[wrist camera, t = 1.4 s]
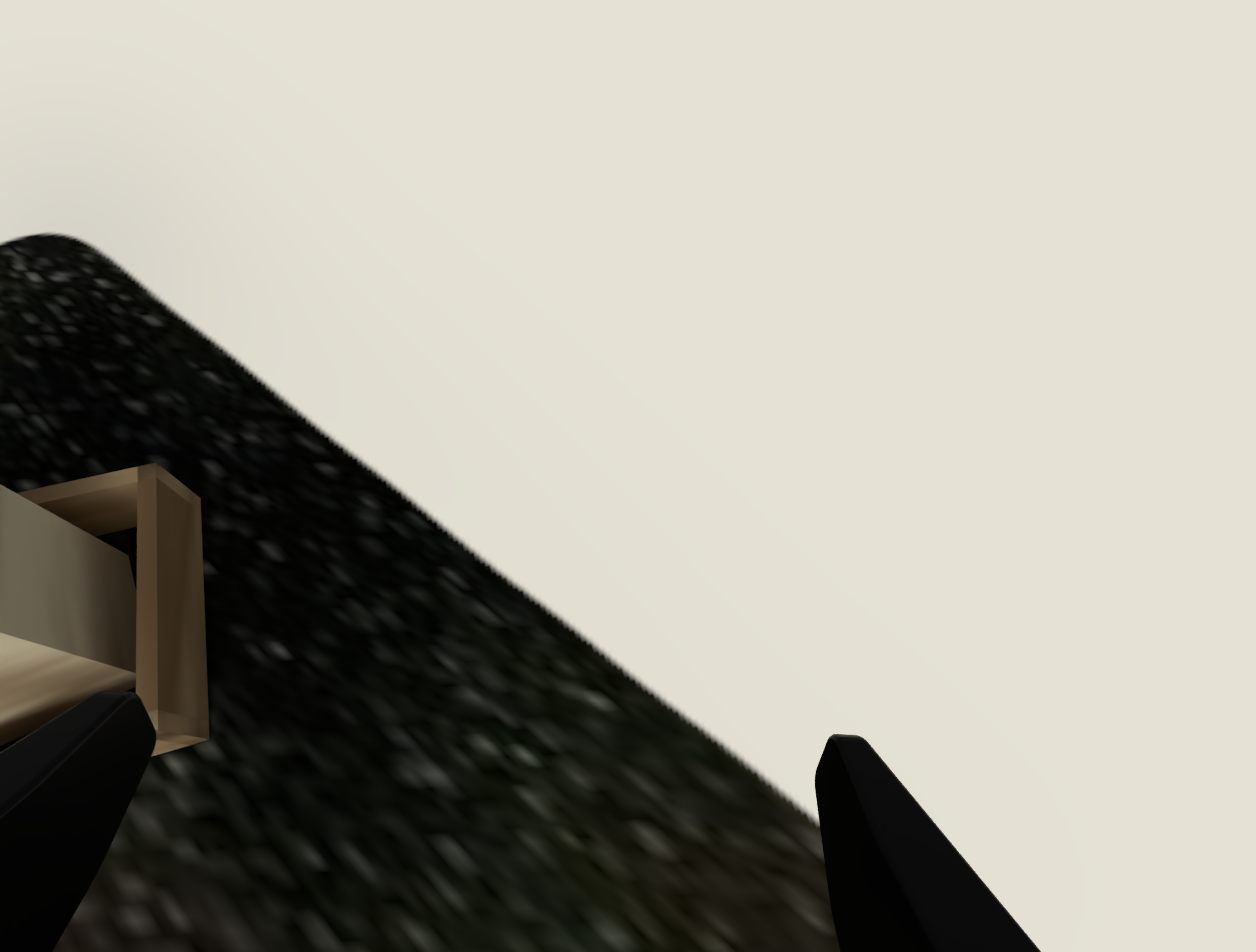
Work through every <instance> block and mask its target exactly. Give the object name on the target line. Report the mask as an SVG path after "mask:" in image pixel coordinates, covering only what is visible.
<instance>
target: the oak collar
mask: <svg viewBox="0 0 1256 952" xmlns="http://www.w3.org/2000/svg"><path fill="white" fill-rule="evenodd" d="M17 494H18V495H20V496H22V497H24V498H26V499H27V500H29V501H31V502H33V503H35V504H36V505H38V506H40V507H42V508H44V509H45V510H47V511H49V512H51V513H53V514H54V515H56V516H58V517H60V518H62V519H63V520H65V521H67V522H69V523H71V524H72V525H74V526H76V527H78V528H80V529H81V530H83V531H85V532H87V533H89V534H91V535H92V536H94V537H96V536H100V535H104V534H108V533H113V532H117V531H121V530H126V529H130V528H134V527H137V611H136V694H137V695H138V696H139V697H140V698H141V700H142V702H143V704H144V706H145V708H146V711H147V713H148V715H149V717H150V719H151V721H152V723H153V725H154V727H155V730H156V736H157V738H156V745H155V749H154V751H153V754H152V756H155V755H159V754H162V753H165V752H169V751H172V750H176V749H179V748H182V747H186V746H189V745H192V744H196V743H199V742H203V741H206V740H209V739H210V737H209V710H208V684H207V657H206V630H205V604H204V577H203V550H202V524H201V498H200V497H198V496H197V495H196V494H195V493H193V492H192V491H191V490H190V489H189V488H187V487H186V486H185V485H184V484H182V483H181V482H180V481H179V480H177V479H176V478H175V477H174V476H172V475H171V474H170V473H169V472H167V471H166V470H165V469H164V468H163V467H161V466H160V465H159V464H158V463H152V464H147V465H142V466H138V467H133V468H129V469H124V470H120V471H115V472H110V473H106V474H101V475H97V476H92V477H88V478H83V479H78V480H74V481H69V482H65V483H60V484H56V485H51V486H46V487H42V488H37V489H33V490H28V491H24V492H19V493H17ZM152 756H151V757H152Z"/></svg>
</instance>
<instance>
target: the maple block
mask: <svg viewBox="0 0 1256 952" xmlns="http://www.w3.org/2000/svg"><path fill="white" fill-rule="evenodd" d="M136 611H137V594H136V589H135V584H134V579H133V575H132V570H131V565H130V560H129V556H128V555H127V554H125V553H123V552H121V551H119V550H118V549H116V548H114V547H112V546H110V545H109V544H107V543H105V542H103V541H101V540H100V539H98V538H96V537H94V536H92V535H91V534H89V533H87V532H85V531H83V530H81V529H80V528H78V527H76V526H74V525H72V524H71V523H69V522H67V521H65V520H63V519H62V518H60V517H58V516H56V515H54V514H53V513H51V512H49V511H47V510H45V509H44V508H42V507H40V506H38V505H36V504H35V503H33V502H31V501H29V500H27V499H26V498H24V497H22V496H20V495H18V494H17V493H15V492H13V491H11V490H9V489H8V488H6V487H4V486H2V485H0V746H1V745H4V744H6V743H8V742H10V741H13V740H15V739H17V738H20V737H22V736H24V735H26V734H29V733H31V732H33V731H35V730H37V729H39V728H40V727H42V726H43V725H45V724H47V723H48V722H50V721H51V720H53V719H54V718H56V717H58V716H59V715H61V714H62V713H64V712H66V711H67V710H69V709H70V708H72V707H74V706H75V705H77V704H78V703H80V702H82V701H83V700H85V699H86V698H88V697H89V696H91V695H93V694H95V693H98V692H101V691H108V690H109V691H127V690H130V689H132V688H134V687H136Z"/></svg>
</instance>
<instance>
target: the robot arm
mask: <svg viewBox="0 0 1256 952" xmlns="http://www.w3.org/2000/svg"><path fill="white" fill-rule="evenodd" d="M156 738H157V736H156V730H155V727H154V725H153V723H152V721H151V719H150V717H149V715H148V713H147V711H146V708H145V706H144V704H143V702H142V700H141V698H140V697H139V696H138V695H137V694H136V693H134V692H126V691H109V690H108V691H101V692H98V693H95V694H93V695H91V696H89V697H88V698H86V699H85V700H83V701H82V702H80V703H78V704H77V705H75V706H74V707H72V708H70V709H69V710H67V711H66V712H64V713H62V714H61V715H59V716H58V717H56V718H54V719H53V720H51V721H50V722H48V723H47V724H45V725H43V726H42V727H40V728H39V729H37V730H35V731H34V732H32V733H31V734H29V735H27V736H26V737H24V738H23V739H21V740H19V741H18V742H16V743H15V744H13V745H12V746H10V747H8V748H7V749H5V750H4V751H2V752H0V952H52V951H53V950H54V948H55V946H56V944H57V943H58V941H59V939H60V937H61V936H62V934H63V932H64V930H65V929H66V927H67V925H68V923H69V922H70V920H71V918H72V917H73V915H74V913H75V911H76V910H77V908H78V906H79V904H80V903H81V901H82V899H83V897H84V896H85V894H86V892H87V890H88V888H89V887H90V885H91V883H92V881H93V879H94V878H95V876H96V874H97V872H98V870H99V868H100V866H101V864H102V862H103V860H104V858H105V856H106V854H107V852H108V850H109V848H110V845H111V843H112V841H113V839H114V837H115V834H116V832H117V830H118V828H119V826H120V824H121V821H122V819H123V817H124V815H125V813H126V811H127V808H128V806H129V804H130V802H131V800H132V797H133V795H134V793H135V791H136V789H137V787H138V784H139V782H140V780H141V778H142V776H143V774H144V771H145V769H146V767H147V765H148V763H149V760H150V758H151V756H152V754H153V751H154V749H155V745H156ZM815 790H816V798H817V806H818V814H819V821H820V829H821V837H822V844H823V852H824V860H825V868H826V875H827V883H828V890H829V897H830V904H831V910H832V915H833V920H834V925H835V930H836V934H837V938H838V943H839V947H840V951H841V952H1041V951H1040V950H1039V949H1038V948H1037V947H1036V945H1035V944H1034V943H1033V942H1032V940H1031V939H1030V938H1029V937H1028V935H1027V934H1026V933H1025V932H1024V931H1023V929H1022V928H1021V927H1020V926H1019V925H1018V923H1017V922H1016V921H1015V920H1014V919H1013V917H1012V916H1011V915H1010V914H1009V913H1008V911H1007V910H1006V909H1005V908H1004V907H1003V905H1002V904H1001V903H1000V902H999V900H998V899H997V898H996V897H995V896H994V894H993V893H992V892H991V891H990V890H989V888H988V887H987V886H986V885H985V884H984V882H983V881H982V880H981V879H980V878H979V877H978V875H977V874H976V873H975V871H974V870H973V869H972V868H971V867H970V865H969V864H968V863H967V862H966V860H965V859H964V858H963V857H962V856H961V854H959V852H958V851H957V850H956V848H955V847H954V846H953V845H952V844H951V842H950V841H949V840H948V839H947V837H946V836H945V835H944V834H943V833H942V831H941V830H940V829H939V828H938V827H937V826H936V824H935V823H934V822H933V821H932V819H931V818H930V817H929V816H928V815H927V813H926V812H925V811H924V810H923V809H922V807H921V806H920V805H919V804H918V802H917V801H916V800H915V799H914V798H913V796H912V795H911V794H910V793H909V792H908V790H907V789H906V788H905V787H904V786H903V785H902V783H901V782H900V781H899V780H898V778H897V777H896V776H895V775H894V773H893V772H892V771H891V770H890V769H889V767H888V766H887V765H886V764H885V763H884V761H883V760H882V759H881V758H880V757H879V755H878V754H877V753H876V752H875V750H874V749H873V748H872V747H871V746H870V744H869V743H868V742H867V741H866V740H865V739H864V738H862V737H860V736H857V735H843V734H833V735H832V736H831V737H829V739H828V741H827V743H826V746H825V748H824V751H823V754H822V756H821V759H820V762H819V764H818V767H817V770H816V775H815Z"/></svg>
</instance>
